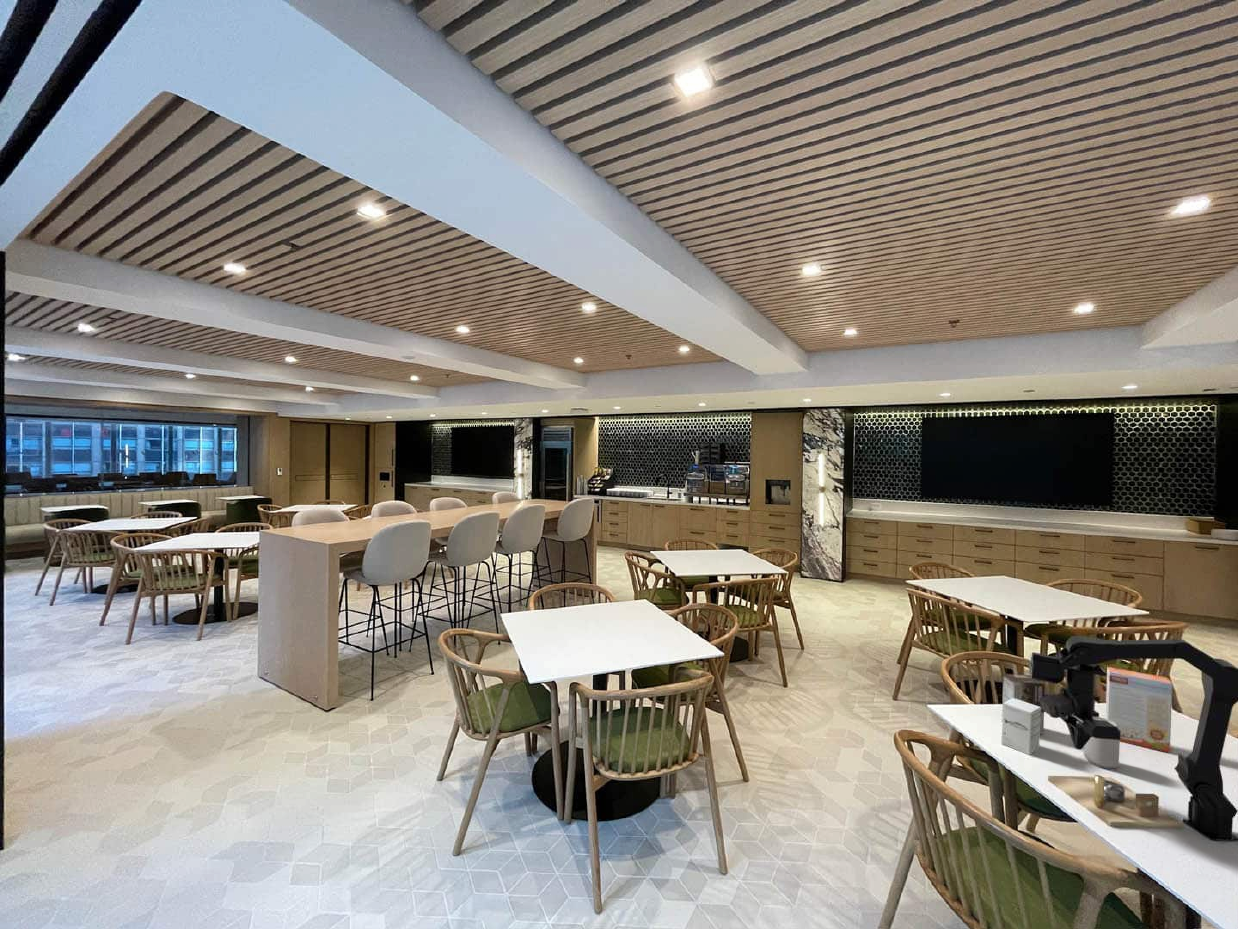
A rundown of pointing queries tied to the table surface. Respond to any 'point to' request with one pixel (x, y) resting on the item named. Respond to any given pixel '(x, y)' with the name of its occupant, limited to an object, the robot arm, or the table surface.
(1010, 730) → the supplement box
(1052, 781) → the stand
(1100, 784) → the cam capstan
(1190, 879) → the table surface
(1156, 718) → the cracker box
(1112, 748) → the can
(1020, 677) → the coffee box
